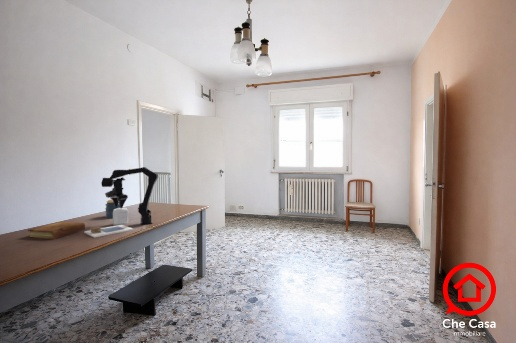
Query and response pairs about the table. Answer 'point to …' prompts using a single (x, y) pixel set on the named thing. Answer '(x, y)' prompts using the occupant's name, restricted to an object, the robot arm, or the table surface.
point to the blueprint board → (107, 230)
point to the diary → (56, 230)
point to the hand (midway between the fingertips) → (118, 207)
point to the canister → (110, 208)
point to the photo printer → (120, 216)
